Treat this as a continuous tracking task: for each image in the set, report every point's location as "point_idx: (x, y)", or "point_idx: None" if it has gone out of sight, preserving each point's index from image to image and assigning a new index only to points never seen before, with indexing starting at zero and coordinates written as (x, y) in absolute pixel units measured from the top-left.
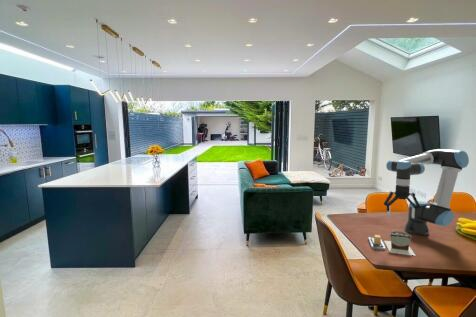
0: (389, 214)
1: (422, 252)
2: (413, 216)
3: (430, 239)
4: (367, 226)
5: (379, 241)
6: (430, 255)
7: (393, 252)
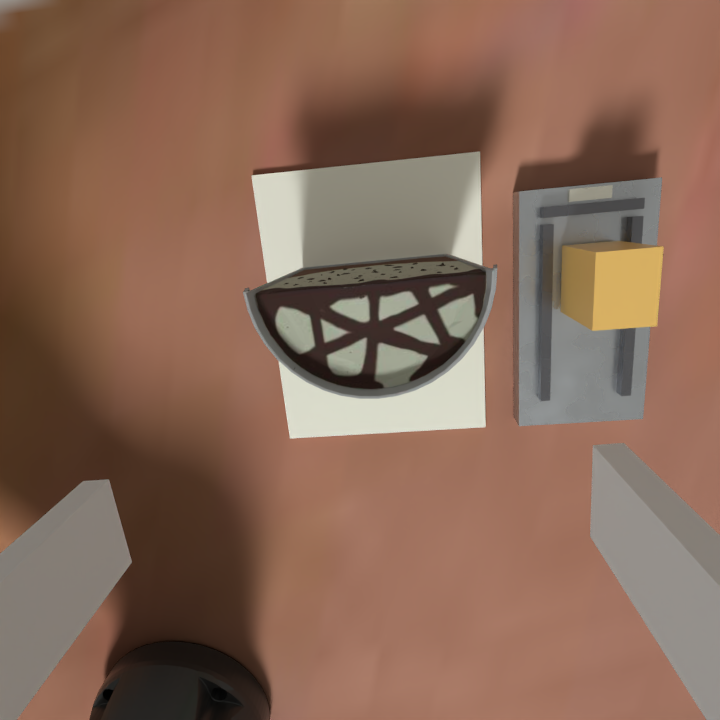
0: (637, 471)
1: (189, 289)
2: (72, 507)
3: None
4: (570, 698)
5: (588, 247)
6: (132, 249)
7: (446, 158)
